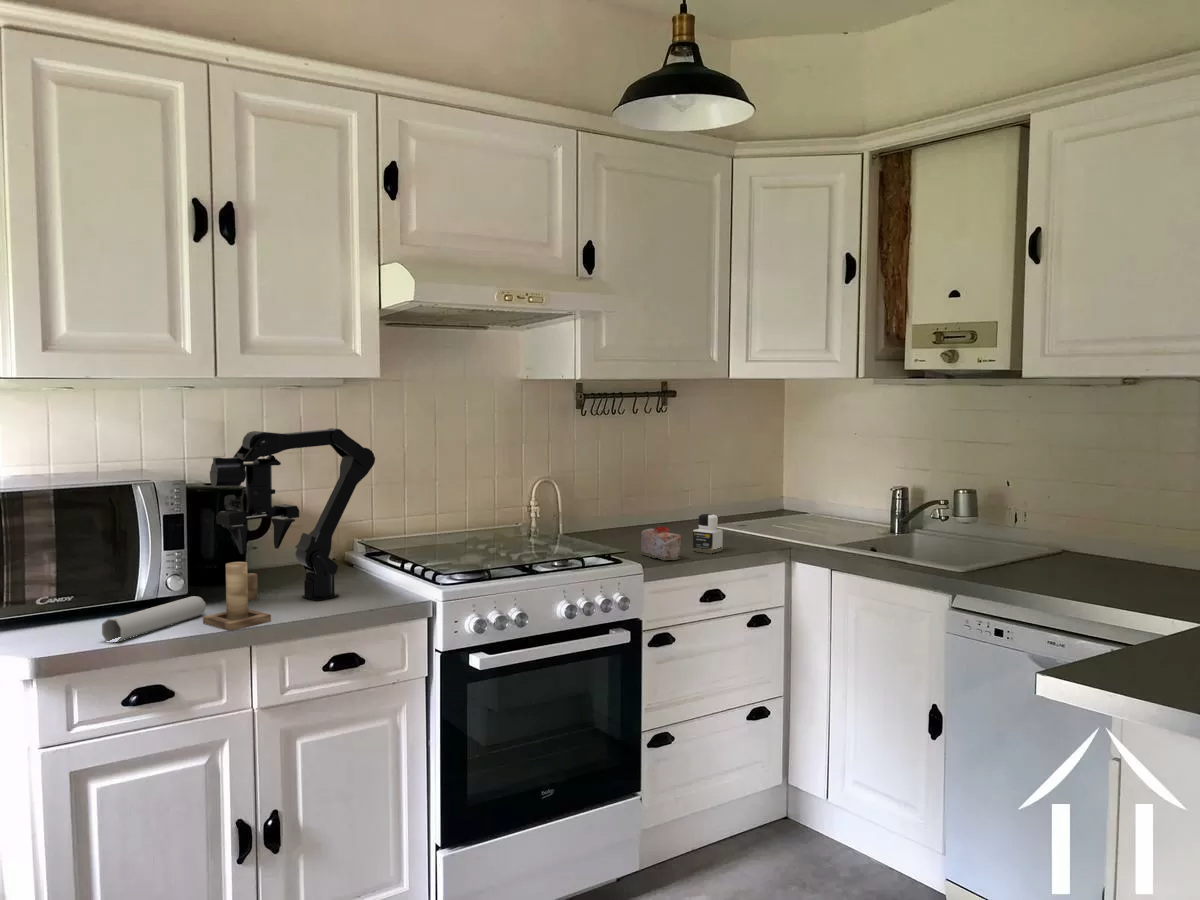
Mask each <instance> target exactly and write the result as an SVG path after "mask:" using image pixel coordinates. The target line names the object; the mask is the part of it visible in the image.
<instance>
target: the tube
mask: <svg viewBox="0 0 1200 900" xmlns="http://www.w3.org/2000/svg"><path fill="white" fill-rule="evenodd" d="M206 605H207V603H206V602H205V601H204V599H203V598H202V597H200V596H195V595H193V596H192V595H191V596H188V597H185V598H181V599H176V600H173V601H170V602H168V603H164V604H160V605H157V606H152V607H150V608H145V609H142V610H139V611H138V610H137V611H135V612H131V613H127V614H124V615H120V616H118V617H113V618H111V617H109V618H107V619H106V620H105V621H104V622H102V624H101V635H102V637H103V639H104V640H105V642H106V641H110V640H112V639H115V638H118V637H121V638H120V639H119V640H118V641H117V642H119V641H120V642H122V641H121V640H123V641H125V640H124V639H126V640H128V639H127V638H129V639H131V638H130V637H132V638H134V637H133V636H135V637H137V636H136V635H139V636H141V635H140V634H142V633H145V634H147V633H146V632H148V633H150V632H149V631H151V632H153V631H152V630H154V631H156V630H155V629H157V630H159V629H158V628H160V629H162V628H161V627H164V628H166V627H165V626H167V627H169V626H168V625H170V626H172V625H171V624H173V625H175V624H174V623H176V624H178V623H177V622H179V623H181V621H182V622H185V621H188V620H187V619H189V620H191V619H190V618H192V619H194V618H193V617H195V618H197V616H198V617H200V616H202V615H203V614H204V613H205V610H206ZM184 620H185V621H184ZM142 635H143V634H142ZM120 642H119V643H120Z"/></svg>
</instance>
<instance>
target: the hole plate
mask: <svg viewBox="0 0 1200 900" xmlns="http://www.w3.org/2000/svg"><path fill="white" fill-rule="evenodd" d="M271 614H272V613H271ZM271 614H270V613H266V612H262V611H259V610H254V609H251V608H248V617H247V618H242V619H238V620H234V621H232V620H228V619H227V617H226V611H223V612H217V613H214V614H209V615H204V616H202V621H203V622H202V623H203V624H204V623H206V624H205V625H208V624H209V625H208V626H211V625H212V627H215V626H216V628H218V627H220V628H219V629H222V630H225V629H226V631H228V632H229V631H230V632H231V631H235V630H239V629H243V628H247V627H252V626H256V625H260V624H264V623H269V622H271V621H272V615H271Z"/></svg>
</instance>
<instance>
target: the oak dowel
mask: <svg viewBox="0 0 1200 900" xmlns="http://www.w3.org/2000/svg"><path fill="white" fill-rule="evenodd" d="M247 573H248V562H246V561H232V562H226V563H225V604H226V605H225V609H226V611H225V612H226V617H227V619H228V620H232V621H234V620H238V619H242V618H247V617H248V609H249V603H248V602H249V601H248V582H247Z"/></svg>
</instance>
